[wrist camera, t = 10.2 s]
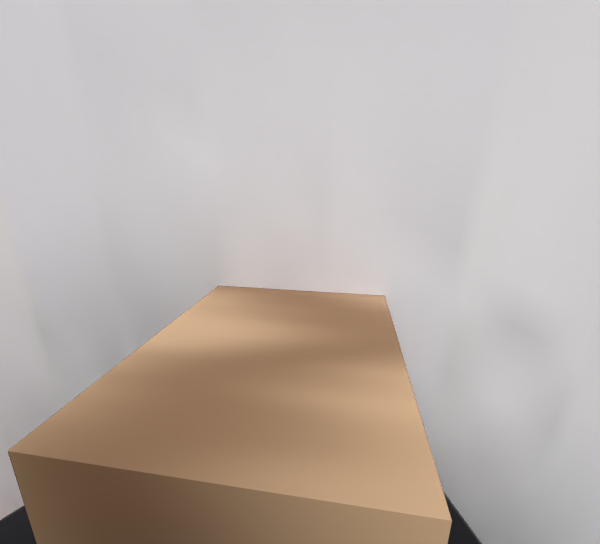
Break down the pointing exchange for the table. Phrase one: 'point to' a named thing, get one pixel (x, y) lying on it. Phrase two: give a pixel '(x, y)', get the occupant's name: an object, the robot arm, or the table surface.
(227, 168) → the table surface
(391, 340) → the upright cardboard box
